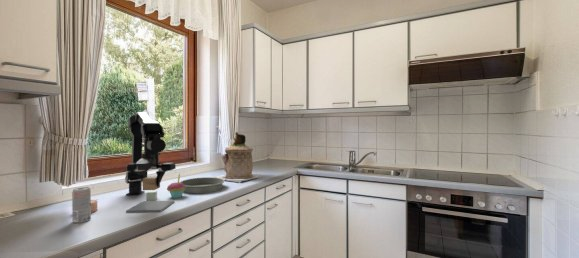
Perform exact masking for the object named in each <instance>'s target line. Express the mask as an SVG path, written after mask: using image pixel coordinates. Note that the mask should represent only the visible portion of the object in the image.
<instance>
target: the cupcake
mask: <svg viewBox="0 0 579 258" xmlns="http://www.w3.org/2000/svg"><path fill="white" fill-rule="evenodd" d="M180 177H181V173H179V174H178V178H177V182H171V184H168V186H167V187H166V190H167V192H169V193H170V196H171V198H172V199H173V198H175V199H177V198H182V196H183V193H184V192H183V191H184V190H185V187H186V186H185V185H184V184H183V183H181V181H180Z"/></svg>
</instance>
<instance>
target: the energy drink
mask: <svg viewBox="0 0 579 258" xmlns="http://www.w3.org/2000/svg"><path fill="white" fill-rule="evenodd" d="M91 193H92V191H91V188H90V187H88V186H87V187H76V188H73V189H72V193H71V197H72V199H71V207H72V208H71V209H72V211H71V214H72V217H71V218H72V221H71V222H72V223H74V224H81V223H87V222H88V221H90V220H91V218H92V217H91V215H92V213H91V200H92V198H91Z"/></svg>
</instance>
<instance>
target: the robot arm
mask: <svg viewBox="0 0 579 258" xmlns="http://www.w3.org/2000/svg"><path fill="white" fill-rule="evenodd" d="M127 127H128V131H129V132H130V134H131V135H132V137H131V138H132V144H131V163H128V164H127V165H126V167H125V169H126V170H125V171H126V174H125V178H124V182H125V183H126V184H128V192H127V193H125V195H126V196H137V195H141V194H143V193H145V191H146V190H143V178H145V177H148V171H149V170H157V171H155V173H156V176H157V187H158V186H159V184H160V185H161V182H162V179H163V177H164V176H165V174H166V172H168V171H173V170H175V169H176V167H177V165H176V164H175V163H174V162H165V163H162V164H161V161H160V155H161V152H163V151H164V150H165V149H166V145H167V144H166V142H165V141H164V140H163V139H162V138H165V131H164V129H163V126H162V124H161V123H160V122H158V121H156V120H152V119H151V118H150V116H149V114H148V113H147V112H141V111H137V112H135V114H134V115H131V116H130V117H129V118H128V121H127ZM143 140H144V141H143Z"/></svg>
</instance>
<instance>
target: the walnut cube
mask: <svg viewBox="0 0 579 258" xmlns="http://www.w3.org/2000/svg"><path fill="white" fill-rule="evenodd" d="M159 188H161V183H160V184H159V186H158V187H157V175H154V176H153V175H151V176H150V175H149V176H148V175H147V177H145V178H143V182H142V191H152V190H158V189H159Z"/></svg>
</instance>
